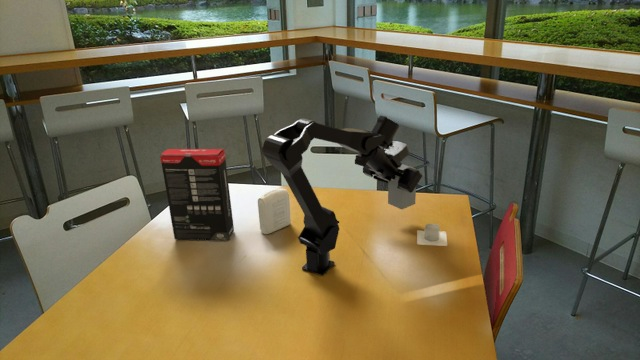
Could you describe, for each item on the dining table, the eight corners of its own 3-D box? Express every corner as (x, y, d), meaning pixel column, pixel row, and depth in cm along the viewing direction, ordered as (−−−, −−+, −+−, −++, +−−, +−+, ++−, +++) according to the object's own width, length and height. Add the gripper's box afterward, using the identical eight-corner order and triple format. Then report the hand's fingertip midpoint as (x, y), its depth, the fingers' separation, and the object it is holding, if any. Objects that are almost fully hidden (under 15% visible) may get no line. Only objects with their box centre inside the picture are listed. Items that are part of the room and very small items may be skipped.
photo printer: (284, 220, 151) (281, 184, 146) (293, 224, 148) (290, 187, 144) (258, 231, 145) (254, 194, 140) (267, 236, 142) (263, 198, 137)
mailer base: (447, 250, 129) (448, 234, 128) (417, 249, 131) (417, 232, 129) (445, 236, 137) (446, 220, 135) (417, 235, 138) (417, 219, 136)
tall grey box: (401, 209, 137) (402, 173, 133) (388, 203, 141) (388, 168, 137) (415, 204, 140) (416, 169, 136) (401, 198, 144) (402, 164, 140)
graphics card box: (236, 231, 145) (225, 146, 135) (230, 242, 139) (218, 154, 129) (182, 231, 147) (167, 146, 137) (173, 242, 141) (157, 154, 131)
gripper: (418, 142, 124) (444, 172, 134) (369, 128, 138) (396, 156, 148) (396, 178, 122) (424, 205, 132) (349, 160, 136) (377, 186, 146)
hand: (405, 186), depth 140 cm, fingers closed on tall grey box, 6 cm apart
